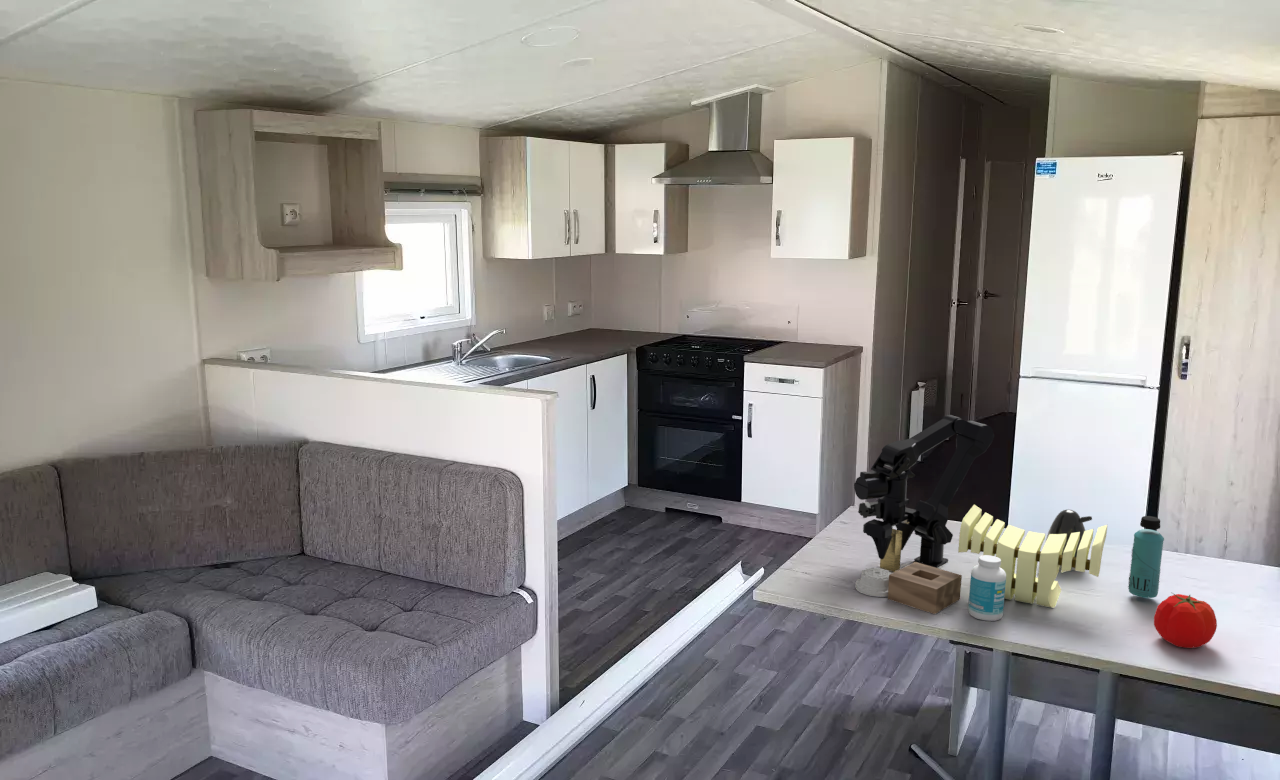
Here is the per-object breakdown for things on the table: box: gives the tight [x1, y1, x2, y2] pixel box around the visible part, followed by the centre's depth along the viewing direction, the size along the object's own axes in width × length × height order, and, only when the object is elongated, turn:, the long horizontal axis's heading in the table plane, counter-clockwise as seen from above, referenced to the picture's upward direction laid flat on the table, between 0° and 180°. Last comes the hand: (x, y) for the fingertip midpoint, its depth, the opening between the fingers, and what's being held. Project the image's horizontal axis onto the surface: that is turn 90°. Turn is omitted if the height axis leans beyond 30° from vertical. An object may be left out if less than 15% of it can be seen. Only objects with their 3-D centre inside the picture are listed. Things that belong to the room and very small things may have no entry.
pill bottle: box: [967, 555, 1006, 622], centre depth 216 cm, size 8×7×14 cm
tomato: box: [1153, 592, 1218, 649], centre depth 203 cm, size 12×12×10 cm
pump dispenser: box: [1044, 509, 1093, 571], centre depth 246 cm, size 10×10×15 cm
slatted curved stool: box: [957, 504, 1108, 609], centre depth 227 cm, size 30×16×18 cm, turn 60°
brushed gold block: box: [879, 528, 902, 573], centre depth 245 cm, size 3×4×10 cm
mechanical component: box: [855, 567, 893, 598], centre depth 232 cm, size 10×4×10 cm
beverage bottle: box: [1128, 515, 1165, 599], centre depth 225 cm, size 6×7×20 cm
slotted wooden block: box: [887, 561, 963, 615], centre depth 225 cm, size 12×12×6 cm
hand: (891, 554), depth 245 cm, fingers open, 9 cm apart
